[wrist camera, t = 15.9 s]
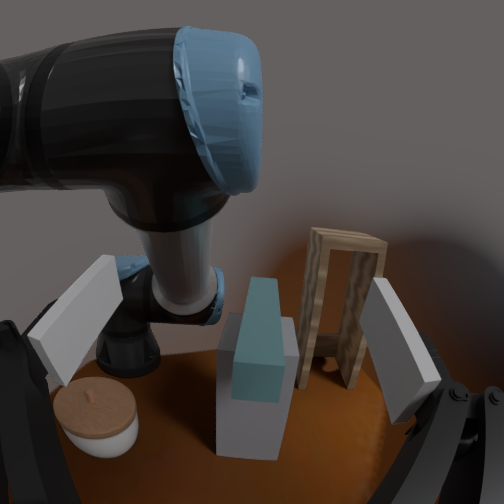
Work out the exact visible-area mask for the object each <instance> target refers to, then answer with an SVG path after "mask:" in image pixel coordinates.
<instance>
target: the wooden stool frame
mask: <svg viewBox="0 0 504 504" xmlns="http://www.w3.org/2000/svg"><path fill="white" fill-rule="evenodd" d="M330 249H339V250H351V251H353V253H352V260H351V266H350V273H349V279H348V286H347V291H346V297H345V302H344V308H343V313H342V318H341V323H340V328H339V333H338V334H337V333H317V332H318V326H319V321H320V315H321V309H322V303H323V297H324V290H325V284H326V277H327V269H328V262H329V254H330ZM386 251H387V242H385V241H382V240H380V239H377V238H375V237H372V236H370V235H367V234H365V233H362V232H355V231H346V230H336V229H326V228H316V227H310V229H309V240H308V248H307V257H306V266H305V274H304V282H303V290H302V297H301V305H300V312H299V319H298V325H297V332H296V340H297V345H298V351H299V362H298V367H297V373H296V376H297V384H298V389H301V390H306V385H307V381H308V376H309V372H310V367H311V362H312V358H313V357H335V359H336V361H337V364H338V367H339V369H340V372H341V374H342V377H343V380H344V382H345V385H346V388H347V389H354V387H355V384H356V381H357V377H358V374H359V371H360V368H361V364H362V361H363V358H364V354H365V350H366V347H367V342H366V339H365V336H364V333H363V331H362V328H361V325H360V322H359V319H360V316H361V313H362V310H363V307H364V304H365V301H366V298H367V295H368V292H369V289H370V285H371V282H372V279H373V277H374V278H382V276H383V270H384V264H385V258H386Z"/></svg>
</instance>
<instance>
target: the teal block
mask: <svg viewBox="0 0 504 504" xmlns="http://www.w3.org/2000/svg"><path fill="white" fill-rule="evenodd" d="M278 295H279V294H278V285H277V279H270V278H258V277H251V281H250V286H249V291H248V295H247V300H246V304H245V309H244V314H243V318H242V323H241V327H240V332H239V337H238V341H237V346H236V351H235V355H234V360H233V373H232V393H231V399H236V400H245V401H257V402H271V403H279V399H280V394H281V388H282V382H283V376H284V370H285V358H284V346H283V335H282V325H281V315H280V304H279V296H278Z"/></svg>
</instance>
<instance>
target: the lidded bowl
mask: <svg viewBox="0 0 504 504" xmlns="http://www.w3.org/2000/svg"><path fill="white" fill-rule="evenodd" d="M53 409H54V413H55V415H56V418H57V420H58V422H59V423H60V424H61V426H62V428H63V430H64V432H65V433H66V435H67V436H68V437H69V439H70V440H71V441H72V442H73V443H74V444H75V445H76V446H77V447H78V448H79V449H81V450H82V451H84V452H85V453H87V454H89V455H92V456H95V457H99V458H114V457H118V456H120V455H122V454H124V453H125V452H127V451H128V450H129V449H130V448H131V447H132V446H133V444H134V442H135V441H136V438H137V435H138V425H139V424H138V415H137V407H136V401H135V398H134V395H133V394H132V392H131V391H130V390H129V389H128V388H127V387H126V386H125V385H123V384H122V383H120V382H118V381H115V380H113V379H110V378H104V377H86V378H81V379H77V380H74V381H72V382H70V383H68V385H67V387H65V386H64V387H62V388H61V389H60V390H59V392H58V393H57V395H56V397H55V399H54V403H53Z"/></svg>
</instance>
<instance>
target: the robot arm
mask: <svg viewBox="0 0 504 504" xmlns="http://www.w3.org/2000/svg"><path fill="white" fill-rule="evenodd" d="M262 119H263V94H262V69H261V60H260V55H259V52H258V49H257V47H256V45H255V44H254V43H253V42H252V41H251V40H250V39H249V38H247V37H246V36H243V35H241V34H238V33H231V32H223V31H214V30H204V29H197V28H195V27H190V26H185V27H183V28H161V29H148V30H138V31H129V32H122V33H115V34H110V35H104V36H98V37H93V38H89V39H84V40H80V41H76V42H72V43H66V44H62V45H58V46H54V47H51V48H47V49H44V50H41V51H37V52H33V53H30V54H25V55H22V56H18V57H14V58H9V59H4V60H0V193H1V192H12V191H24V190H56V189H57V190H75V189H77V190H78V189H102V190H104V192H105V195H106V197H107V199H108V201H109V204H110V206H111V208H112V210H113V211H114V213H115V214H116V215H117V217H118V218H119V219H121V221H123V222H124V223H126V224H127V225H129V226H131V227H132V228H134V229H136V230H137V232H138V235H139V237H140V240H141V242H142V245H143V248H144V250H145V253H146V255H147V257H146V256H140V255H126V256H120V257H114V256H111V255H102V256H101V257H100V258H99V259H98V260H96V261H95V262H94V263H93V264H92V265H91V266H90V267H89V268H88V269H87V270H86V271H85V272H84V273H83V274H82V275H81V276H80V277H79V278H78V279H77V280H76V281H75V282H74V284H72V285H71V287H70V288H69V289H68V290H67V291H66V292H65V293H64V294H63V295H62V296H61V297H60V298H59V299H56V300H54V301H53V302H51V303H50V304H48V305H47V307H46V308H45V309H44V310H43V311H42V313H40V314H39V315H38V317H37V318H36V319H35V320H34V321H33V322H32V323H31V324H30V325H29V327H28V328H27V329H26V330H25V332H24V333H23V334H22V335H20V334H19V332H18V330H17V327H16V325H15V324H14V322H13V321H11V320H4V321H2V322H0V504H9V497H8V483H9V487H10V491H11V495H12V499H13V503H14V504H81V501H80V499H79V497H78V494H77V492H76V489H75V487H74V484H73V481H72V479H71V476H70V473H69V470H68V467H67V464H66V461H65V458H64V455H63V451H62V448H61V444H60V441H59V437H58V433H57V429H56V425H55V421H54V416H53V411H52V406H51V401H50V395H49V389H48V383H47V380H46V379H45V377H46V375H47V374H49V375H50V377H51V379H52V380H53V381H54V382H55V383H57V384H60V385H62V386H65V387H67V385H68V383H69V381H70V380H71V378H72V376H73V375H74V373H75V371H76V370H77V368H78V366H79V365H80V363H81V362H82V360H83V358H84V357H85V355H86V354H87V352H88V350H89V349H90V347H91V346H92V344H93V342H94V341H95V340H96V338H97V337H98V341H97V348H96V357H97V362H98V365H99V367H100V368H101V369H102V370H103V371H104V372H106V373H108V374H110V375H113V376H116V377H123V378H132V377H139V376H143V375H145V374H148V373H150V372H152V371H153V370H155V369H156V368H157V367H158V365H159V364H160V361H161V356H160V349H159V346H158V344H157V342H156V339H155V337H154V335H153V333H152V330H151V328H150V322H153V323H169V324H185V325H200V326H205V325H214V324H216V323H217V322H218V321H219V319H220V317H221V314H222V308H223V302H224V276H223V273H222V271H221V270H220V269H219V268H215V267H213V266H211V265H210V255H211V242H212V229H213V218H214V217H215V216H216V215H217V214H218V213H219V212H220V211H221V210H222V209H223V208H224V206H225V205H226V204H227V202H228V200H229V199H230V197H231V195H232V196H236V195H238V194H240V193H249V192H252V191H253V190H254V189H255V188H256V187H257V185H258V181H259V175H260V166H261V152H262V122H263V121H262ZM147 258H148V260H149V261H148V260H147ZM148 263H150V265H148ZM359 322H360V325H361V328H362V331H363V333H364V336H365V339H366V342H367V345H368V348H369V351H370V354H371V357H372V360H373V363H374V366H375V369H376V372H377V375H378V379H379V382H380V385H381V388H382V392H383V395H384V399H385V402H386V405H387V409H388V413H389V416H390V420H391V424H392V425H393V424H399V423H404V422H408V421H409V420H410V419H411V417H412V416H413V415H414V414H415V416H416V419H417V421H416V422H415V423H414V424H413V426H411V427H410V429H408V431H407V432H406V433H405V435H407V434H408V433H409V432H410V433H409V435H408V437H407V439H406V441H405V442H404V445H403V446H402V448H401V450H400V452H399V454H398V455H397V457H396V459H395V461H394V462H393V464H392V466H391V468H390V469H389V471H388V473H387V474H386V476H385V477H384V479H383V481H382V482H381V484H380V485H379V487H378V488H377V490H376V491H375V492H374V494H373V495H372V497H371V498H370V500H369V501H368V502H367V504H434V503H435V501H436V499H437V497H438V495H439V492H440V490H441V488H442V490H441V494H440V498H439V502H438V504H504V394H503V392H502V391H501V390H500V389H499V388H497V387H495V386H490V387H488V388H486V390H485V391H484V392H483V393H482V394H474V393H469V391H468V389H467V388H466V387H465V386H464V385H463V384H461V383H459V382H453V380H452V378H451V376H450V374H449V372H448V370H447V368H446V366H445V364H444V362H443V360H442V358H441V357H440V354H439V352H438V351H437V350H436V347H435V345H434V343H433V341H432V340H431V339H430V338H429V337H428V336H427V335H426V334H425V333H418V332H417V330H416V328H415V327H414V325H413V323H412V321H411V319H410V317H409V316H408V314H407V312H406V311H405V309H404V307H403V305H402V304H401V302H400V300H399V299H398V297H397V295H396V293H395V292H394V290H393V289H392V287H391V285H390V284H389V282H388V280H387V279H386V278H374V277H373V279H372V282H371V285H370V289H369V292H368V295H367V298H366V301H365V304H364V307H363V310H362V313H361V316H360V319H359ZM477 434H478V440H477ZM7 479H8V480H7Z"/></svg>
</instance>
